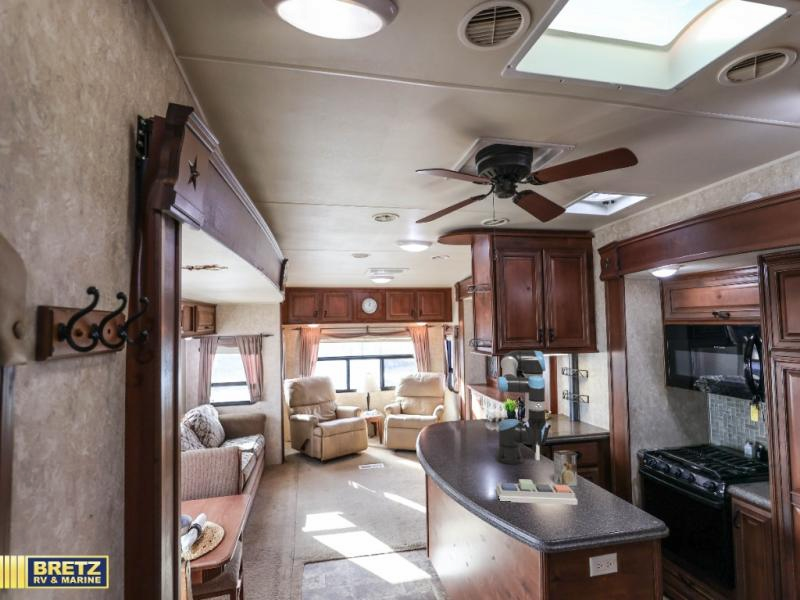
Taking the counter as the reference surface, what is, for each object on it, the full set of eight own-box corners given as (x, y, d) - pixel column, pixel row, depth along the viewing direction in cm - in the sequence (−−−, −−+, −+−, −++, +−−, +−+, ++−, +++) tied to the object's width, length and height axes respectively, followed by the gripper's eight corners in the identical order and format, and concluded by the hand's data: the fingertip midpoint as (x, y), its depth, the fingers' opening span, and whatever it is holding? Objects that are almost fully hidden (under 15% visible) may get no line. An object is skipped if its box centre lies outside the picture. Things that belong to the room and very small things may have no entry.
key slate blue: (501, 488, 203) (501, 482, 203) (513, 488, 202) (513, 483, 202) (503, 492, 197) (503, 487, 197) (516, 493, 196) (516, 487, 197)
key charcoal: (536, 489, 201) (536, 484, 201) (548, 490, 201) (548, 484, 201) (539, 494, 196) (539, 488, 196) (551, 494, 195) (551, 489, 195)
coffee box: (569, 481, 219) (568, 449, 220) (577, 485, 213) (577, 453, 214) (553, 483, 217) (553, 450, 217) (561, 487, 210) (561, 454, 211)
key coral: (553, 490, 201) (553, 484, 201) (566, 490, 200) (565, 485, 200) (557, 494, 195) (557, 489, 195) (569, 495, 194) (569, 489, 195)
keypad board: (496, 490, 206) (496, 481, 206) (568, 493, 203) (568, 484, 204) (500, 501, 193) (500, 492, 194) (577, 504, 190) (577, 495, 191)
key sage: (519, 484, 202) (518, 479, 202) (531, 485, 202) (531, 479, 202) (521, 489, 196) (521, 483, 197) (533, 489, 196) (533, 484, 196)
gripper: (524, 411, 201) (525, 461, 200) (552, 411, 200) (553, 462, 199) (521, 407, 208) (521, 456, 208) (548, 407, 207) (549, 456, 207)
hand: (537, 459), depth 203 cm, fingers closed
